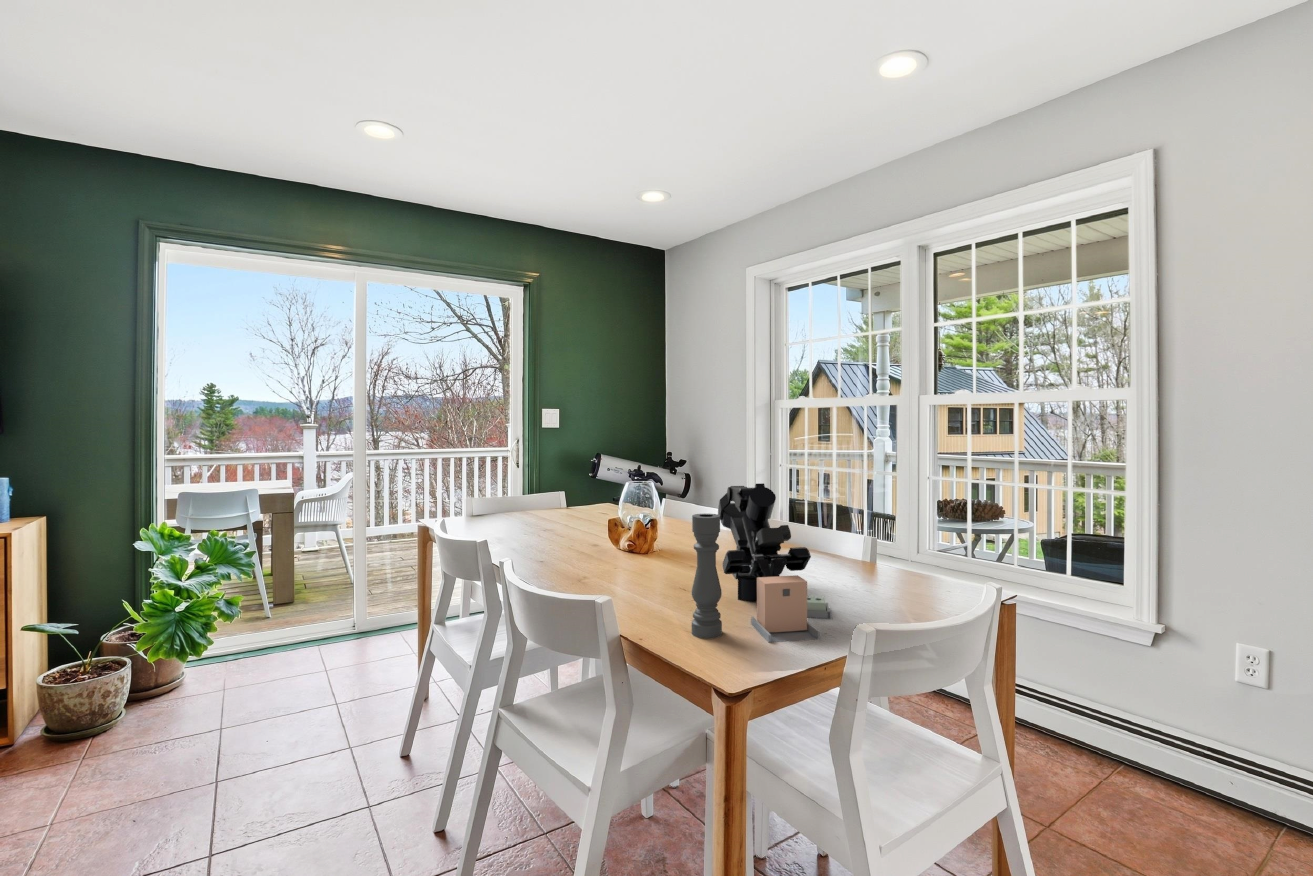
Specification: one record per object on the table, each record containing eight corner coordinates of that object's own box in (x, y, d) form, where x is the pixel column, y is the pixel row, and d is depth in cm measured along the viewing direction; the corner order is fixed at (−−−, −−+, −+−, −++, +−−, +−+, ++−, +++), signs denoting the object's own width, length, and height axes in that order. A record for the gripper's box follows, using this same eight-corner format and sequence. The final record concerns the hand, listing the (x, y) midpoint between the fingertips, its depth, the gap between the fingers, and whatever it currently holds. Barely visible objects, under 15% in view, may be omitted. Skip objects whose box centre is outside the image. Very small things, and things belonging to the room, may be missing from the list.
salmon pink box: (756, 624, 134) (756, 577, 133) (797, 622, 135) (797, 575, 135) (765, 633, 129) (765, 584, 128) (807, 630, 130) (807, 581, 130)
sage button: (801, 611, 141) (801, 601, 140) (800, 604, 146) (800, 595, 146) (826, 612, 140) (826, 602, 139) (824, 605, 145) (824, 596, 145)
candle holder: (703, 630, 134) (702, 512, 133) (728, 637, 130) (727, 515, 129) (685, 639, 130) (684, 516, 129) (710, 645, 126) (710, 519, 125)
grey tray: (751, 628, 135) (751, 617, 135) (798, 625, 137) (798, 614, 137) (768, 647, 124) (768, 634, 124) (820, 643, 126) (820, 631, 126)
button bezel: (795, 621, 139) (795, 611, 139) (794, 610, 147) (794, 600, 147) (833, 623, 138) (833, 612, 138) (830, 612, 146) (830, 602, 146)
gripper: (725, 513, 138) (741, 577, 128) (807, 511, 141) (828, 572, 131) (716, 542, 146) (730, 604, 136) (794, 539, 149) (813, 599, 139)
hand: (775, 594), depth 135 cm, fingers closed
